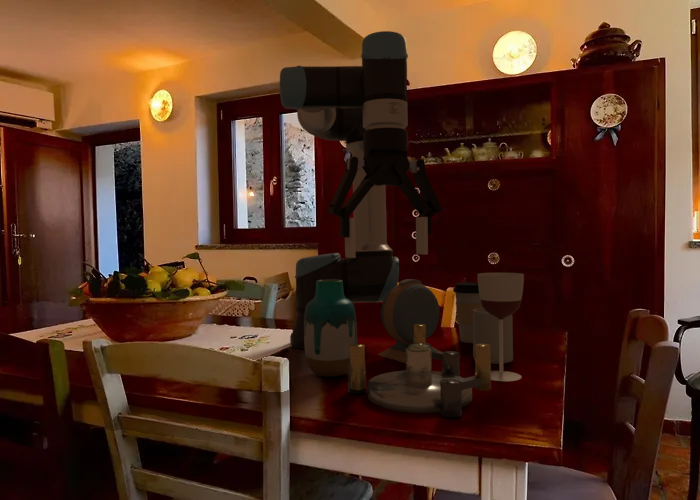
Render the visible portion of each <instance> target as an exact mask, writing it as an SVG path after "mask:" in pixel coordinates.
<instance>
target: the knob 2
mask: <svg viewBox="0 0 700 500" xmlns="http://www.w3.org/2000/svg"><path fill="white" fill-rule="evenodd" d="M491 365H492V364H490V345H488V344H476V345H475V359H474V369H475V370H474V375H472V376H467V377H462V378H463V379H459V380H456V379H443V380H441V381H440V395H441V412H440V415H441V416H443V417H444V418H449V419H450V418H452V419H453V418H460V417H462V416H463V407H462V390H464V389H468V388H472V389H473V388H475V390H477V391H483V392H486V391H490V390H492V386H491V385H492V383H491V382H492V380H491V371H492V367H491Z"/></svg>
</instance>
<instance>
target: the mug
mask: <svg viewBox="0 0 700 500" xmlns="http://www.w3.org/2000/svg"><path fill="white" fill-rule="evenodd" d="M513 334H514V333H513V314H511V315H509V316H507V317H506V318H504V319H503V364H509V363H511V362H512V361H514V349H513V347H514V346H513V345H514V344H513V343H514V342H513V339H514V338H513V337H514V336H513ZM472 344H473V347H472V356H473V359H474V360H475V345H476V344H488V345H490V364H491V365H496V364H497V365H499V319H498V318H497V317H495V316H493V315H491V314H490V313H488V312H487V311H486V310H485V309H484V308H476V309H474V310H473V343H472Z"/></svg>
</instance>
